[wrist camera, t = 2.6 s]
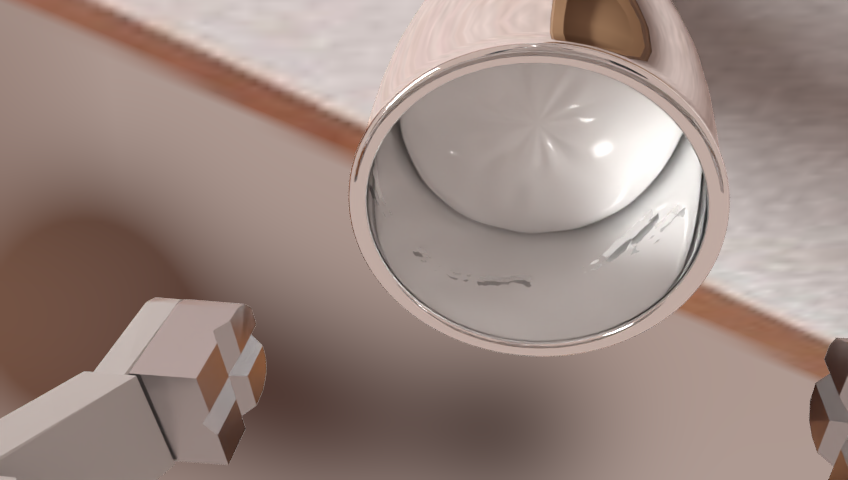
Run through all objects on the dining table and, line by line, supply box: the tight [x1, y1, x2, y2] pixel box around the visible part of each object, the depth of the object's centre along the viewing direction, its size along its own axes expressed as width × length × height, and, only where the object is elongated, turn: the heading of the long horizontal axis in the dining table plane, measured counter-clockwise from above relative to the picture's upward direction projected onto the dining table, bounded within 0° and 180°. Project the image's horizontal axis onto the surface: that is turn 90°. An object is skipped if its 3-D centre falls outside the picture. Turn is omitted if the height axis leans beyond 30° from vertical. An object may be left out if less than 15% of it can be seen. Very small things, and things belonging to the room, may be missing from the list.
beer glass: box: [348, 0, 730, 357], centre depth 18 cm, size 7×7×15 cm
